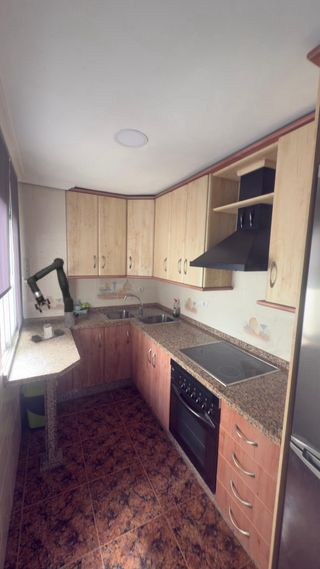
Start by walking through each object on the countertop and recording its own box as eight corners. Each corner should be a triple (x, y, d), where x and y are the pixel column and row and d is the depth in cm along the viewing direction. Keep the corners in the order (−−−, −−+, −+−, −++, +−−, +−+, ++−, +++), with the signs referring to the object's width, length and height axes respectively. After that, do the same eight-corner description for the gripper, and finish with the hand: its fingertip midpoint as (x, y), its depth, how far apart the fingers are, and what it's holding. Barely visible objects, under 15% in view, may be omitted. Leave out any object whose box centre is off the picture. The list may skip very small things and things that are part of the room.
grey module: (49, 335, 226) (48, 323, 225) (52, 336, 223) (51, 324, 221) (44, 336, 223) (43, 324, 221) (46, 338, 220) (46, 326, 218)
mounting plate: (58, 332, 238) (58, 328, 238) (65, 335, 229) (65, 331, 229) (29, 340, 217) (29, 336, 216) (36, 344, 208) (35, 340, 207)
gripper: (33, 298, 224) (40, 313, 228) (46, 292, 235) (53, 307, 238) (30, 299, 229) (37, 314, 233) (43, 293, 240) (50, 307, 243)
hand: (45, 310), depth 235 cm, fingers open, 8 cm apart
